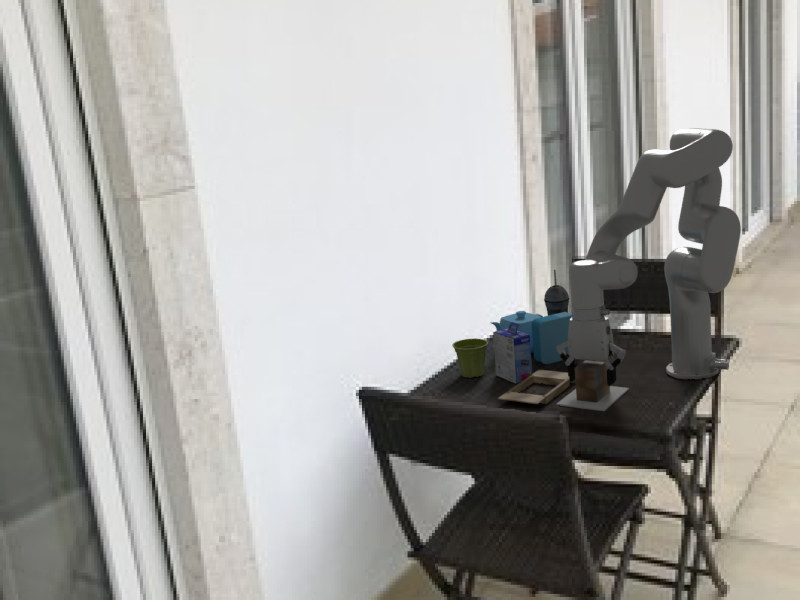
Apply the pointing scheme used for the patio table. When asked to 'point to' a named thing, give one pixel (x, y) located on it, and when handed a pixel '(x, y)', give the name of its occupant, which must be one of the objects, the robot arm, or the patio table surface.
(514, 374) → the ink cartridge box
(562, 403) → the mat
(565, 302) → the beverage cup
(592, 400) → the walnut box
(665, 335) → the patio table surface
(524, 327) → the teapot
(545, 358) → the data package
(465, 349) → the plant pot
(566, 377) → the tan flat frame
